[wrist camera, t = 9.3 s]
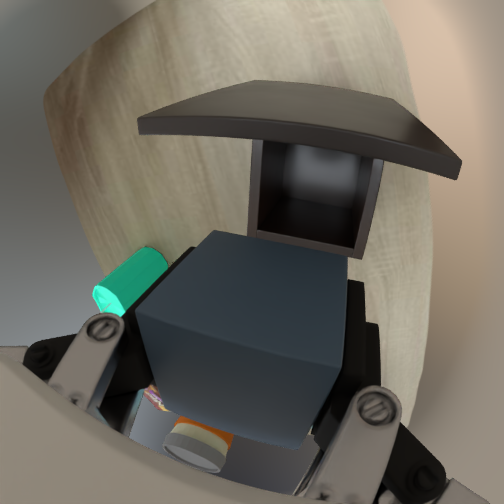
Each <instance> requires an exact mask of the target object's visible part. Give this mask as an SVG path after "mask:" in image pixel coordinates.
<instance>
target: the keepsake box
mask: <svg viewBox="0 0 504 504" xmlns="http://www.w3.org/2000/svg"><path fill="white" fill-rule="evenodd" d="M383 165H384V160H379V159H375V158H370V157H366V156H361V155H356V154H351V153H346V152H340V151H335V150H329V149H323V148H317V147H311V146H304V145H297V144H290V143H282V142H273V141H264V140H254V139H253V141H252V157H251V174H250V190H249V207H248V224H247V236H249V237H254V238H259V239H264V240H269V241H275V242H280V243H285V244H290V245H295V246H300V247H305V248H310V249H315V250H320V251H325V252H330V253H335V254H340V255H344V256H347V257H351V258H356V259H361V260H362V258H363V254H364V250H365V247H366V243H367V239H368V235H369V231H370V227H371V223H372V218H373V214H374V210H375V205H376V201H377V196H378V191H379V186H380V181H381V176H382V170H383Z"/></svg>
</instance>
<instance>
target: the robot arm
mask: <svg viewBox="0 0 504 504" xmlns="http://www.w3.org/2000/svg"><path fill="white" fill-rule="evenodd" d="M195 248H196V247H190V248H189V249H188V250H187V251H185V252H184V253H183V254H182V255H181V256H180V257H179V258H178V259H177V260H176V261H175V262H174V263H173V264H172V265H171V266H170V267H169V268H168V269H167V270H166V271H165V272H164V273H163V274H162V275H161V276H160V277H159V278H158V279H157V280H156V281H155V282H154V283H153V284H152V285H151V286H150V287H149V288H148V289H147V290H146V291H145V292H144V293H143V294H142V295H141V296H140V297H139V298H138V299H137V300H136V301H135V302H134V303H133V304H132V305H131V306H130V307H129V308H128V309H127V310H126V312H125V313H124V314H123V315H122V316H121V317H120V316H119V315H117V314H115V313H110V312H104V313H99V314H96V315H94V316H92V317H91V318H89V319H88V320H87V321H86V322H85V323H84V325H83V326H82V328H81V329H80V331H79V332H78V333H77V334H72V335H67V336H62V337H56V338H51V339H46V340H41V341H38V342H36V343H34V344H32V345H31V346H30V347H28V346H0V504H490V503H489V502H488V501H487V500H485V499H484V498H482V497H480V496H479V495H477V494H476V493H474V492H473V491H471V490H470V489H468V488H467V487H465V486H464V485H462V484H461V483H460V482H458V481H457V480H455V479H454V478H452V479H450V480H449V479H447V478H446V472H445V469H444V467H443V466H442V464H441V463H440V462H439V461H438V460H437V459H436V458H435V457H434V456H433V455H432V454H431V453H430V452H429V451H428V450H427V448H425V446H423V445H422V443H420V441H419V440H418V439H416V437H415V436H414V435H413V434H412V433H411V432H410V431H409V430H408V429H407V428H406V427H405V426H404V425H403V424H402V423H401V422H400V420H401V416H402V407H401V403H400V401H399V399H398V398H397V396H396V395H395V394H394V393H393V392H392V391H390V390H388V389H386V388H384V387H381V363H380V339H379V326H378V324H375V323H370V322H366V315H365V290H364V282H360V281H355V280H350V279H348V281H347V303H346V321H345V336H344V348H343V359H342V368H341V370H340V372H339V374H338V376H337V378H336V380H335V383H334V385H333V387H332V389H331V391H330V393H329V395H328V397H327V399H326V401H325V403H324V405H323V407H322V408H321V410H320V412H319V414H318V416H317V418H316V420H315V422H314V423H313V425H312V431H311V434H313V435H315V436H314V441H315V442H316V443H317V444H318V446H319V447H320V448H319V449H318V451H317V453H316V455H315V457H314V459H313V461H312V463H311V464H310V466H309V468H308V470H307V471H306V473H305V475H304V476H303V478H302V480H301V482H300V483H299V485H298V487H297V488H296V490H295V492H294V493H293V495H292V496H290V495H285V494H280V493H275V492H271V491H266V490H262V489H258V488H254V487H251V486H247V485H243V484H239V483H236V482H233V481H230V480H226V479H224V478H220V477H217V476H215V475H211V474H208V473H206V472H203V471H200V470H198V469H195V468H193V467H190V466H187V465H185V464H182V463H180V462H178V461H175V460H173V459H170V458H168V457H166V456H164V455H162V454H160V453H158V452H155V451H153V450H151V449H149V448H147V447H145V446H143V445H141V444H139V443H137V442H135V441H133V440H132V439H130V438H129V436H130V432H131V429H132V426H133V423H134V420H135V417H136V414H137V411H138V408H139V406H140V403H141V400H142V397H143V394H144V391H145V388H148V387H149V385H150V384H151V385H153V386H156V387H157V385H156V382H155V379H154V376H153V373H152V370H151V367H150V364H149V360H148V357H147V354H146V350H145V347H144V343H143V340H142V336H141V332H140V329H139V325H138V321H137V317H136V313H135V310H136V308H137V307H138V306H139V305H140V304H141V303H142V302H143V301H144V300H145V299H146V298H147V297H148V296H149V295H150V294H151V292H152V291H153V290H154V289H155V288H156V287H157V286H158V285H159V284H160V283H161V282H162V281H163V280H164V279H165V278H166V277H167V276H168V275H169V274H170V273H171V272H172V271H173V270H174V269H175V268H176V267H177V266H178V265H179V264H180V263H181V262H182V261H183V260H184V259H185V258H186V257H187V256H188V255H189V254H190V253H191V252H192V251H193V250H194V249H195Z"/></svg>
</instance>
